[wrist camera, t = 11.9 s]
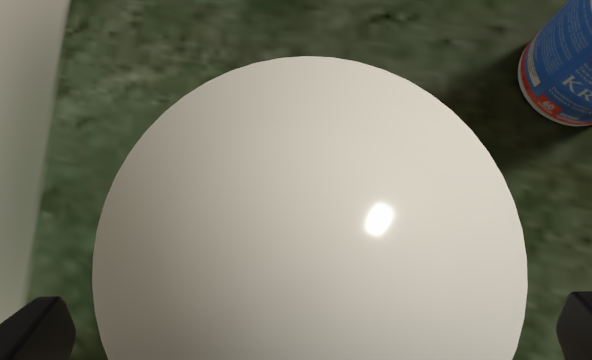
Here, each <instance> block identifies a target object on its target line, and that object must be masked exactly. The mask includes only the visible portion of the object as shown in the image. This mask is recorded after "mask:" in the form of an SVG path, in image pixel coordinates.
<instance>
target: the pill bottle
mask: <svg viewBox="0 0 592 360" xmlns="http://www.w3.org/2000/svg"><path fill="white" fill-rule="evenodd" d="M518 80H519V85H520V88H521V91H522V93H523V95H524V96H525V98H526V100H527V101H528V102H529V104H530V105H531V106H532V107H533V108H534V109H535V110H536V111H537V112H539V113H540V114H541V115H543V116H544V117H546V118H548V119H550V120H552V121H555V122H557V123H560V124H564V125H569V126H587V125H591V124H592V0H568V2H567V3H566V4H565V5H564V6H563V7H562V8H561V9H560V10H559V11H558V12H557V13H556V14H555V15H554V16H553V18H552V19H551V20H550V21H549V22H548V23H547V24H546V25H545V26H544V27H543V28H542V29H541V30H540V31H539V33H538V34H537V35H536V36H535V37H534V38H533V39H532V40H531V41H530V43H529V44H528V45H527V47H526V48H525V50H524V51H523V53H522V55H521V58H520V61H519V65H518Z"/></svg>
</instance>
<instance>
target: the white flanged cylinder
mask: <svg viewBox="0 0 592 360" xmlns="http://www.w3.org/2000/svg"><path fill="white" fill-rule="evenodd" d="M92 287H93V298H94V309H95V315H96V320H97V324H98V328H99V333H100V337H101V341H102V344H103V347H104V349H105V352H106V355H107V358H108V360H512V359H513V356H514V354H515V351H516V349H517V345H518V341H519V337H520V333H521V329H522V325H523V321H524V315H525V306H526V297H527V257H526V251H525V244H524V237H523V231H522V227H521V224H520V220H519V217H518V213H517V210H516V206H515V203H514V200H513V198H512V196H511V194H510V191H509V189H508V187H507V184H506V182H505V180H504V177H503V175H502V174H501V172H500V170H499V169H498V167H497V165H496V164H495V162H494V160H493V159H492V157H491V155H490V153H489V152H488V151H487V149H486V148H485V147H484V145H483V144H482V143H481V142H480V140H479V139H478V138H477V136H476V135H475V134H474V133H473V131H472V130H471V129H470V128H469V127H468V126H467V125H466V124H465V123H464V122H463V121H462V120H461V119H460V118H459V117H458V116H457V115H456V114H455V113H454V112H453V111H452V110H451V109H449V108H448V107H447V106H446V105H444V104H443V103H442V102H440V101H439V100H438V99H437V98H435V97H434V96H433V95H431V94H430V93H428V92H427V91H425V90H423V89H422V88H420V87H418V86H417V85H415V84H413V83H411V82H410V81H408V80H406V79H404V78H401V77H399V76H397V75H395V74H392V73H390V72H388V71H386V70H383V69H380V68H377V67H373V66H370V65H367V64H363V63H360V62H356V61H350V60H344V59H338V58H333V57H312V56H302V57H289V58H278V59H273V60H268V61H263V62H258V63H254V64H251V65H248V66H245V67H241V68H238V69H235V70H232V71H230V72H227V73H225V74H223V75H221V76H219V77H217V78H215V79H212V80H210V81H208V82H206V83H205V84H203V85H201V86H200V87H198V88H197V89H195V90H193V91H192V92H190V93H189V94H187V95H185V96H184V97H183V98H181V99H180V100H179V101H178V102H176V103H175V104H174V105H173V106H172V107H170V108H169V109H168V110H167V111H165V112H164V113H163V114H162V115H161V116H160V117H159V118H158V119H157V120H156V121H155V122H154V123H153V124H152V125H151V126H150V127H149V129H148V130H147V131H146V132H145V133H144V134H143V136H142V137H141V138H140V140H139V141H138V142H137V144H136V145H135V146H134V147H133V149H132V150H131V151H130V153H129V154H128V156H127V158H126V160H125V161H124V163H123V165H122V166H121V168H120V170H119V172H118V173H117V175H116V177H115V179H114V182H113V184H112V186H111V189H110V191H109V193H108V196H107V198H106V200H105V203H104V207H103V210H102V214H101V217H100V221H99V224H98V228H97V234H96V240H95V246H94V253H93V273H92Z"/></svg>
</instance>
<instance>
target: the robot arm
mask: <svg viewBox="0 0 592 360" xmlns="http://www.w3.org/2000/svg"><path fill="white" fill-rule="evenodd" d="M556 334H557V338H558V341H559V344H560V347H561V349H562V352H563V355H564V358H565V360H592V292H571V293H570V294H569V295H568V296H567V298H566V300H565V303H564V305H563V308H562V310H561V313H560V315H559V318H558V320H557V323H556ZM75 336H76V330H75V326H74V323H73V320H72V318H71V315H70V313H69V310H68V308H67V305H66V303H65V301H64V300H63V299H62V298H61V297H38V298H35V299H34V300H32V301H31V302H29V303H28V304H27V305H25V306H24V307H23V308H21V309H20V310H19V311H17V312H16V313H15V314H13V315H12V316H10V317H9V318H8V319H6V320H5V321H4V322H2V323H1V324H0V360H69V358H70V355H71V352H72V348H73V345H74V341H75Z"/></svg>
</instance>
